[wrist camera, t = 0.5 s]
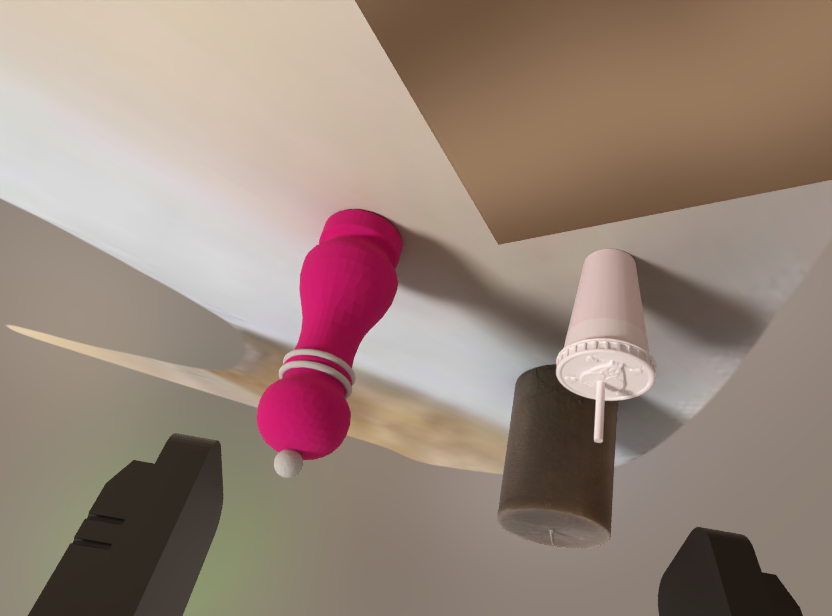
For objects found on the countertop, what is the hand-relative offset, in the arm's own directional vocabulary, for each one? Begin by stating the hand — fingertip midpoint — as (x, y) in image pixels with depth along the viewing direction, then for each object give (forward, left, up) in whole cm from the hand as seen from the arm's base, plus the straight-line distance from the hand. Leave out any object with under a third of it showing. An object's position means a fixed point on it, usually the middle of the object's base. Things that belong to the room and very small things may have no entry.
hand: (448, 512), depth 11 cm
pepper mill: (+20, -23, -30) cm, 43 cm away
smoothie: (+28, -6, -30) cm, 41 cm away
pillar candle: (+45, -15, -30) cm, 56 cm away
